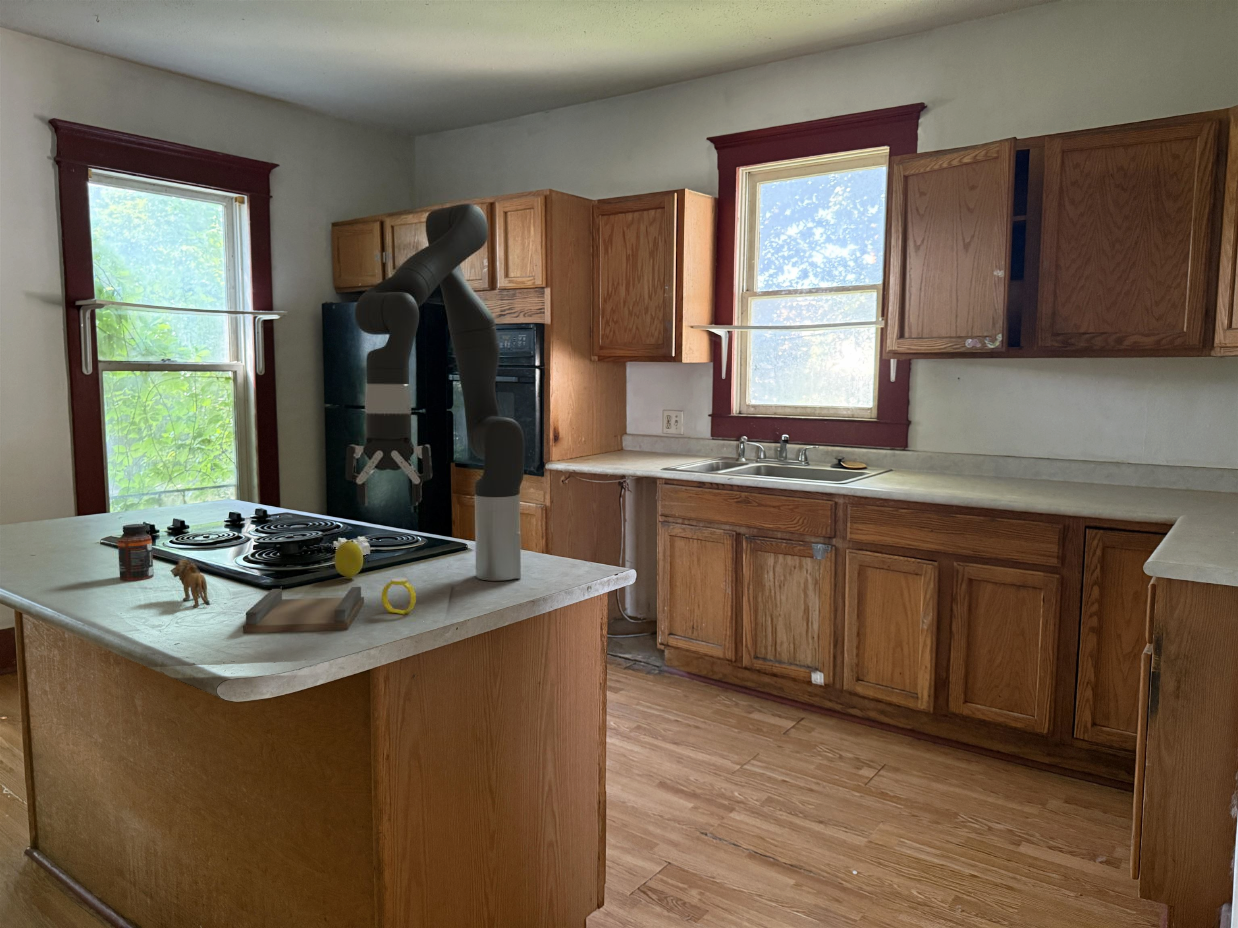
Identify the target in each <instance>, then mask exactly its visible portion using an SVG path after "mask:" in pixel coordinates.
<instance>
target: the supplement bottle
mask: <svg viewBox="0 0 1238 928" xmlns="http://www.w3.org/2000/svg"><path fill="white" fill-rule="evenodd" d="M146 526H147V525H146V524H145V523H132V524H130V523H129V524H126V525H123V526H122V535H121V536H120V537H119V538H118V539H117V550H118V553H117V555H118V566H119V567H118V571H119V580H120V581H121V582H140V581H145V580H150V579H152V578H153V577H154V561H153V560H154V559H153V556H154V555H153V540H152V535H150V534H148V533H147V527H146Z"/></svg>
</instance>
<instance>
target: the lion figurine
mask: <svg viewBox="0 0 1238 928" xmlns="http://www.w3.org/2000/svg"><path fill="white" fill-rule="evenodd" d="M169 572H171V574H172V575H173V577H174V578H177V577H178V579H179V581H181V585H183V592H184V596H185V597H183V598H182V601H183V602H187V601H190V599H191V596H192V598H193V601H194V604H193V605H192V607H193V608H198V607H200V604H199V599H200V598H201V600H202V602H203V603H204V604H205V605H206V606H210V605H211V603H210V600H209V598H208V595H207V594H208V585H207V579H206V578H205V575H204V574H202V573H201V572H200V569H199V568H198V567H197V565H195V563H194V562H193V561H191V560H190V559H186V558H182V559H179V560H178V562H177V564H176V565H175V566H174V567H173V568H171V569H170V570H169ZM190 594H191V595H190Z"/></svg>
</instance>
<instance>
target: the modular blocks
mask: <svg viewBox="0 0 1238 928" xmlns="http://www.w3.org/2000/svg"><path fill="white" fill-rule="evenodd" d="M348 540H349V539H346V538H345V537H343V538H341V537H338V538H337V541H336V540H335V541H333V548H334V547H336V548H338V547H339V546H340V545H341V544H343V543H345V542H346V541H348ZM352 542H353V543H355V544H357V545H358V546H359V547H360V548H361V551H362V554H363V555H366V554H370V555H371V545H370V544H369V542H368V539H367V538H366V537H365V536H357V539H353V540H352Z"/></svg>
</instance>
